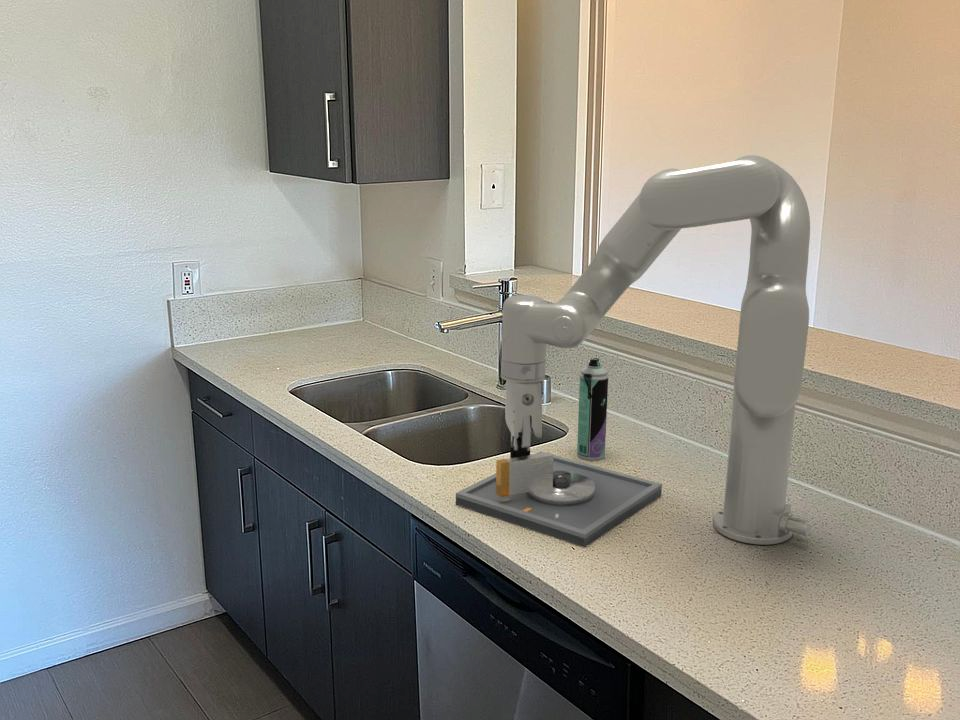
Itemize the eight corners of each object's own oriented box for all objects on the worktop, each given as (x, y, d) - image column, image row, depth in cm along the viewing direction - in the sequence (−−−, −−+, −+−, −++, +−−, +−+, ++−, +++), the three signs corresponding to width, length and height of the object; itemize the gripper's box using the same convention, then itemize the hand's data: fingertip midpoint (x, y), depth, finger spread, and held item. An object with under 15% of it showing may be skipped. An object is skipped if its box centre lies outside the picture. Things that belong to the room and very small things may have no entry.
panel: (661, 495, 163) (662, 483, 163) (584, 547, 144) (585, 534, 143) (540, 462, 179) (540, 451, 178) (455, 504, 159) (455, 492, 158)
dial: (572, 474, 168) (573, 436, 167) (607, 498, 158) (609, 458, 156) (483, 490, 161) (483, 450, 159) (514, 516, 151) (514, 474, 149)
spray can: (603, 462, 179) (608, 363, 174) (575, 459, 180) (579, 361, 175) (605, 452, 184) (610, 356, 179) (578, 450, 185) (581, 354, 180)
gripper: (554, 381, 149) (549, 486, 153) (536, 357, 163) (532, 454, 168) (508, 382, 148) (505, 487, 152) (494, 357, 162) (491, 455, 167)
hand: (519, 469), depth 160 cm, fingers closed
